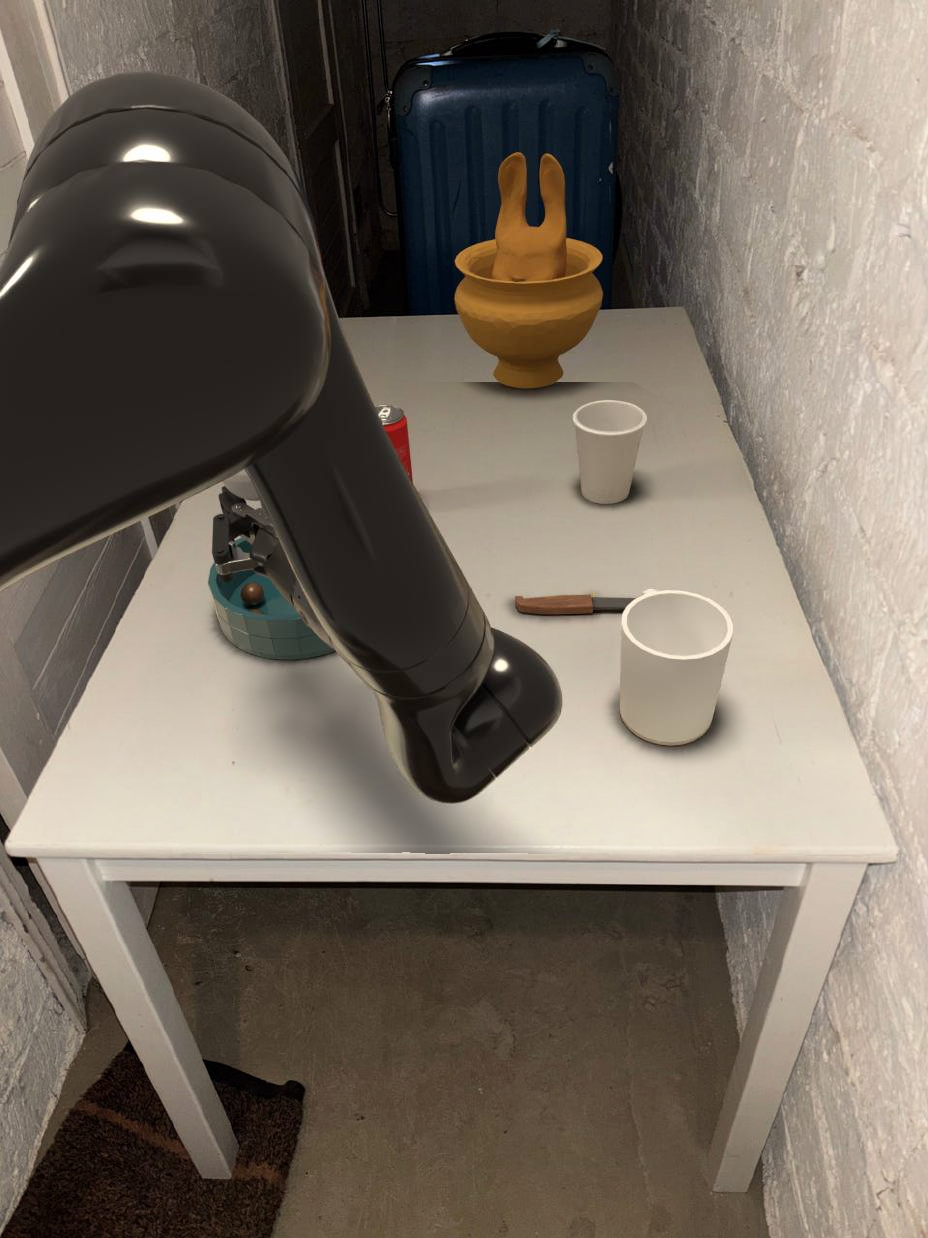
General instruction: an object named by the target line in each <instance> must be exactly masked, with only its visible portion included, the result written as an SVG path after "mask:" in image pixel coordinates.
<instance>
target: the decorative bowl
mask: <svg viewBox="0 0 928 1238" xmlns="http://www.w3.org/2000/svg"><path fill="white" fill-rule="evenodd" d="M539 164H540V165H539V189H540V196H541V198H542V199H541V200H542V202H543V205H544V212H545V214H544V220H543V222H542V223H541V225H539V226H530V225H529V224H528V222H527V219H526V204H527V194H528V181H527V180H528V175H527V174H528V173H527V172H528V168H527V161H526V157H525V155H524V154H523V153H522V152H514V153H512V154H511V155H509V156H507V157H506V158H505V159H504V160H503V161H502V162H501V164H500V166H499V168H498V173H497V182H498V188H499V192H500V193H499V194H500V197H501V199H500V200H501V204H500V209H499V213H498V217H497V221H496V227H495V231H494V232H495V233H494V237H495V238H494V239H490V240H485V241H482V242H479V243H476V244H474V245H470V246H469V247H467V248H465V249H463V250H462V251H460V252H459V253H458V255H456V257H455V259H454V263H455V266H456V268H457V269H458V270H459V271H460V272H461V273H462V274H463V275H464V278H463V279H462V280H461V281H460V282H459V283H458V286H457V287H456V290H455V293H454V304H455V309H456V311H457V314H458V316H459V318H460V320H461V323H462V325H463V328H464V329H465V331H466V332H467V334H468V336H469V337H470V339H471V340H472V341H473V342H474V343H475V344H476V345H477V347H479V348H480V349H482V350H483V351H485V352H486V353H488V354H490V355H492V356H494V357H497V360H498V362H497V365H496V366H495V369H494V370H493V373H492V376H493V377H494V379H495V380H496V381H497V382H499V383H500V384H502V385H505V386H508V387H512V388H516V389H517V388H518V389H536V388H537V389H538V388H542V387H546V386H551V385H553V384H555V383H557V382H558V381H560V380H561V379H562V378H563V376H564V369H563V368H562V366H561V364H560V362H559V357H560V356H561V355H564V354H566V353H568V352H569V351H571V350H572V349H574V348H575V347H577V346H578V345H579V344H580V343H581V342H582V341H583V340H584V339H585V337H587V335H588V333H589V332H590V331H591V329H592V327H593V324H594V322H595V320H596V318H597V316H598V314H599V311H600V309H601V307H602V303H603V296H604V292H603V289H602V286H601V283H600V281H599V280H598V278H597V277H596V276H595V274H594V273H593V272H594V271H595V270H596V269H597V268H598V267H599V265H600V264H601V263H602V261H603V254H602V252H601V251H600V250H599V249H598V248H597V247H595V246H594V245H592V244H589V243H587V242H584V241H582V240H577V239H573V238H569V237H568V238H567V216H566V205H565V204H566V182H565V173H564V172H563V171H564V170H563V168H562V166H561V164H560V163H559V161H558V160H557V159H556V158H555V157H554V156H553V155H552V154H550V153H544V154H543V155H542V156H541V158H540V163H539Z"/></svg>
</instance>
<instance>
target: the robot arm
mask: <svg viewBox="0 0 928 1238" xmlns="http://www.w3.org/2000/svg"><path fill="white" fill-rule="evenodd" d="M319 243H320V242H319V238H318V232H317V226H316V222H315V217H314V214H313V211H312V209H311V205H310V202H309V198H308V196H307V194H306V190H305V188H304V186H303V184H302V182H301V180H300V178H299V176H298V174H297V172H296V170H295V168H294V165H293V164H292V162H291V161H290V160H289V157H288V156H287V154H286V153H285V151H284V150H283V148H282V146H281V145H279V143H278V142H277V140H275V139H274V137H273V136H272V135H271V134H270V133H269V131H268V130H267V128H266V127H265V126H264V125H263V124H262V123H261V122H260V121H259V120H257V119H256V118H255V117H254V116H252V115H251V114H250V113H249V112H248V111H247V110H246V109H245V108H243V107H242V106H241V105H240V104H238V103H237V102H236V101H235V100H233V99H231V98H230V97H227V96H226V95H224V94H222V93H221V92H219V91H217V90H216V89H214V88H212V87H210V85H206V84H203V83H201V82H198V81H196V80H192V79H189V78H187V77H184V76H181V75H177V74H170V73H162V72H156V71H150V70H149V71H147V70H146V71H134V72H120V73H116V74H112V75H109V76H106V77H104V78H100V79H96V80H94V81H91V82H89V83H88V84H86V85H84V86H82V87H80V88H78V90H76V91H75V92H73V93H71V95H69V96H68V97H67V98H66V99H65V100H64V102H62V104H61V105H60V106H59V107H58V108H57V109H56V110H55V111H54V113H52V115H51V116H50V117H49V118H48V119H47V121H46V123H45V124H44V126H43V128H42V130H41V132H40V134H39V135H38V137H37V139H36V141H35V143H34V145H33V148H32V150H31V152H30V154H29V158H28V159H27V163H26V167H25V171H24V175H23V177H22V182H21V186H20V190H19V192H18V196H17V200H16V209H15V213H14V217H13V222H12V227H11V231H10V236H9V240H8V244H7V248H6V251H5V254H4V257H3V261H2V262H1V265H0V593H2V592H3V591H5V590H7V589H9V588H10V587H11V586H14V585H15V584H17V583H18V582H20V581H22V580H23V579H25V578H27V577H28V576H30V575H32V574H33V573H36V572H37V571H39V570H41V569H43V568H45V567H48V566H49V565H51V564H52V563H55V562H57V561H58V560H61V559H62V558H64V557H66V556H69V555H70V554H72V553H75V552H77V551H79V550H81V549H83V548H85V547H88V546H89V545H91V544H94V543H95V542H98V541H100V540H102V539H104V538H106V537H108V536H111V535H113V534H115V533H117V532H119V531H121V530H123V529H126V528H128V527H130V526H132V525H134V524H136V523H138V522H140V521H143V520H145V519H147V518H149V517H151V516H154V515H155V514H158V513H159V512H162V511H164V510H166V509H168V508H170V507H172V506H175V505H177V504H179V503H181V502H184V501H186V500H188V499H189V498H192V497H194V496H196V495H198V494H200V493H202V492H204V491H206V490H208V489H210V488H212V487H214V486H216V485H218V484H220V483H223V482H222V481H224V480H225V479H227V478H229V477H231V476H233V475H235V474H237V473H239V472H240V471H242V470H245V471H246V473H247V475H248V476H249V478H250V480H251V482H252V484H253V485H254V487H255V489H256V491H257V493H258V495H259V497H260V499H261V501H262V503H263V505H264V507H265V509H266V511H265V510H263V509H262V507H258V508H253V507H252V506H250V505H248V504H247V500H246V499H243V498H240V497H238V496H236V495H235V494H233V493H232V492H230V491H229V490H228V489H227V488H226V487H225V485H223V486H221V492H220V493H219V494H218V500H219V505H220V510H221V512H222V513H218V514H216V515H214V517H212V540H211V555H212V559H213V563H215V567H216V570H217V574H218V577H219V581H220V582H223V583H227V582H231V581H233V580H234V579H235V572H238V571H244V570H251V569H253V570H254V571H255V572H256V573H257V574H258V575H261V576H264V577H267V578H269V579H270V580H271V582H272V583H273V584H274V586H275V587H276V589H277V590H278V591H279V592H280V593H281V594H282V596H283V597H284V598H285V599H286V600H287V601H288V602H289V604H290V605H291V606H292V607H293V608H294V609H295V611H296V612H297V613H298V614H299V615H300V617H301V619H302V620H303V622H304V623H305V624H306V625H307V626H308V627H310V628H311V629H312V630H313V631H314V632H315V633H316V634H317V635H318V637H319V638H321V639H322V640H323V641H324V642H325V643H326V644H328V645H329V646H330V647H332V648H333V649H334V650H335V651H334V652H336V653H337V654H338V656H339V657H340V658H341V659H342V660H343V661H344V662H345V664H346V665H347V666H348V668H350V669H351V670H352V672H353V673H354V674H355V675H356V676H357V677H358V678H359V679H360V680H361V682H362V683H363V684H364V685H366V687H367V688H368V689H369V690H371V691H372V692H373V695H374V698H375V702H376V704H377V708H378V713H379V719H380V723H381V727H382V731H383V735H384V739H385V741H386V744H387V747H388V751H389V753H390V755H391V758H392V759H393V760H392V761H394V763H395V765H396V767H397V768H398V771H399V772H400V774H401V775H402V777H403V778H404V779H405V780H406V782H407V783H408V784H409V785H410V786H411V787H412V789H414V790H415V791H416V792H418V793H419V794H420V795H421V796H423V797H424V798H426V799H428V800H429V801H432V802H436V803H440V804H442V805H443V804H444V805H445V804H446V805H455V804H456V805H457V804H462V803H465V802H468V801H470V800H472V799H473V798H475V797H477V796H478V795H480V794H482V793H483V792H484V791H485V790H486V789H487V788H488V787H490V785H492V783H494V782H495V781H496V779H499V777H500V776H501V775H503V774H504V772H506V771H507V770H508V769H509V768H510V767H511V766H512V765H514V764H515V762H517V761H518V760H519V759H520V758H521V757H522V756H523V755H524V754H525V753H526V752H528V751H530V748H533V746H535V745H536V744H538V742H539V741H541V740H542V739H543V738H544V737H545V736H546V735H547V734H548V733H550V731H551V730H552V729H553V728H554V727H555V725H556V724H557V723H558V721H559V719H560V717H561V715H562V709H563V694H562V693H563V692H562V688H561V684H560V682H559V679H558V677H557V675H556V674H555V672H554V670H553V668H552V667H551V666H550V664H549V663H548V662H547V660H545V659H544V657H543V656H542V655H541V654H540V653H539V652H537V651H536V650H535V649H534V648H532V647H530V646H529V645H528V644H526V643H525V642H523V641H522V640H520V639H518V638H516V637H515V636H513V635H511V634H509V633H506V632H504V631H502V630H500V629H497V628H495V627H492V626H491V623H490V621H489V618H488V617H487V615H486V613H485V611H484V609H483V608H482V606H481V603H480V602H479V600H478V598H477V597H476V595H475V592H474V591H473V589H472V587H471V585H470V584H469V582H468V579H467V578H466V576H465V575H464V572H463V571H462V569H461V567H460V566H459V563H458V561H457V560H456V558H455V556H454V554H453V552H452V550H451V549H450V548H449V546H448V544H447V542H446V540H445V539H444V537H443V535H442V533H441V531H440V530H439V528H438V526H437V525H436V522H435V521H434V519H433V517H432V515H431V513H430V511H429V510H428V508H427V506H426V504H425V503H424V501H423V499H422V497H421V495H420V493H419V492H418V489H417V488H416V486H415V484H414V481H413V482H412V480H411V479H410V477H409V475H408V473H407V471H406V469H405V467H404V465H403V463H402V461H401V460H400V458H399V456H398V454H397V452H396V450H395V448H394V446H393V444H392V442H391V440H390V438H389V436H388V434H387V432H386V430H385V428H384V426H383V424H382V422H381V420H380V417H379V415H378V413H377V411H376V408H375V406H376V405H375V404H374V401H373V400H372V397H371V395H370V393H369V391H368V388H367V386H366V384H365V381H364V378H363V377H362V374H361V372H360V370H359V367H358V365H357V362H356V360H355V357H354V355H353V352H352V349H351V347H350V345H349V342H348V339H347V336H346V333H345V332H344V329H343V326H342V324H341V320H340V318H339V315H338V312H337V308H336V306H335V301H334V299H333V296H332V293H331V289H330V287H329V283H328V280H327V276H326V273H325V270H324V267H323V263H322V257H321V256H322V255H321V250H320V244H319ZM238 537H239V538H241V537H242V538H243V539H245V540H247V541H248V542H250V543H251V544H252V547H251V549H250V552H249V553H246V552H243V551H242V549H241V548H240V547H237V546H236V545H235V540H236V539H238Z"/></svg>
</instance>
